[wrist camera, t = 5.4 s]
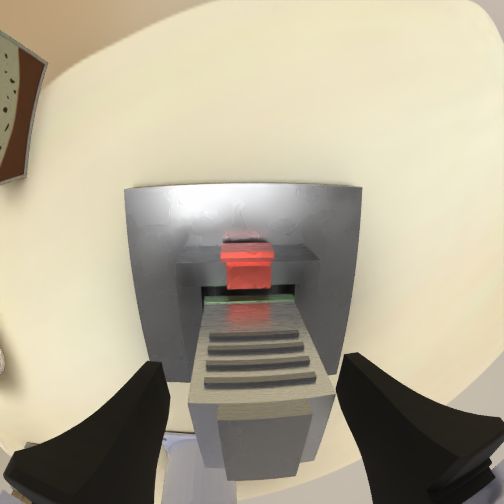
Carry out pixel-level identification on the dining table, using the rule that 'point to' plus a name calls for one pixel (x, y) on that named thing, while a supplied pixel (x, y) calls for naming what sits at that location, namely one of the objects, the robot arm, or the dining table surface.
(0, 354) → the decorative vase
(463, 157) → the dining table surface
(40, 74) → the food container
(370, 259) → the dining table surface
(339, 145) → the dining table surface
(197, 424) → the block
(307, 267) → the base
